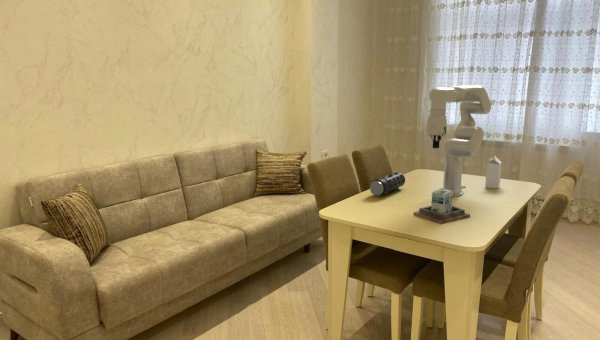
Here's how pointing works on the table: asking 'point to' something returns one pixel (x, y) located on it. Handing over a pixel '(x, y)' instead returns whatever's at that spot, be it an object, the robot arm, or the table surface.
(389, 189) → the muzzle brake
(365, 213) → the table surface
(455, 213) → the tray
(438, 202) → the light bulb box
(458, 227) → the table surface
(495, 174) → the milk carton
